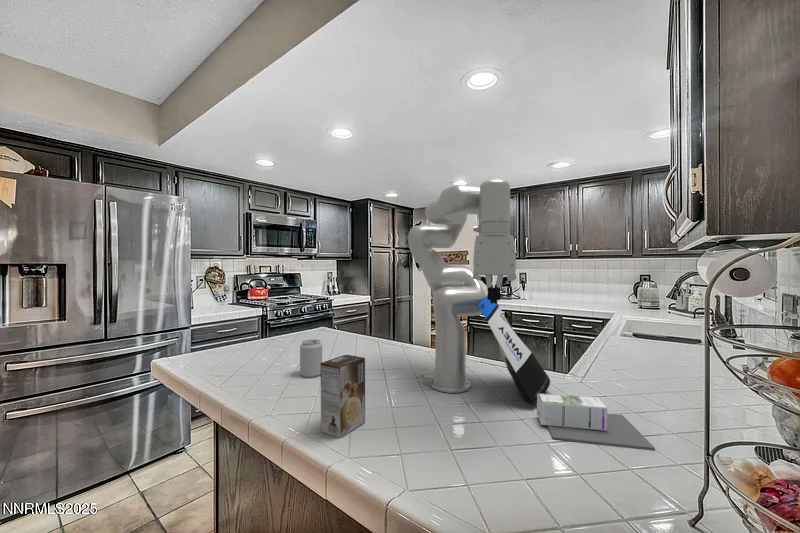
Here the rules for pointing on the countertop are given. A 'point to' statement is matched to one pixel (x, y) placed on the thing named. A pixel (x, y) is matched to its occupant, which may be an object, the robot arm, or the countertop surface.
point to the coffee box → (342, 394)
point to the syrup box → (572, 411)
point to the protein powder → (516, 354)
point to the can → (310, 358)
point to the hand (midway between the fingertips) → (493, 303)
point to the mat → (605, 434)
